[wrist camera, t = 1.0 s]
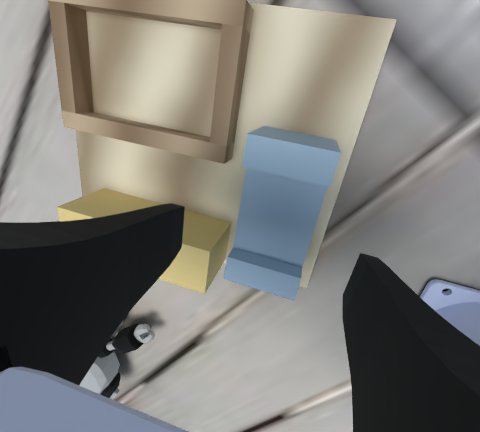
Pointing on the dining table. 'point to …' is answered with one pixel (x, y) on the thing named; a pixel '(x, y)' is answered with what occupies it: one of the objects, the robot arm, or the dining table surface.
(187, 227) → the yellow rectangular block
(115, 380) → the robot toy
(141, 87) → the jig
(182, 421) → the dining table surface
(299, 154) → the blue notched block
